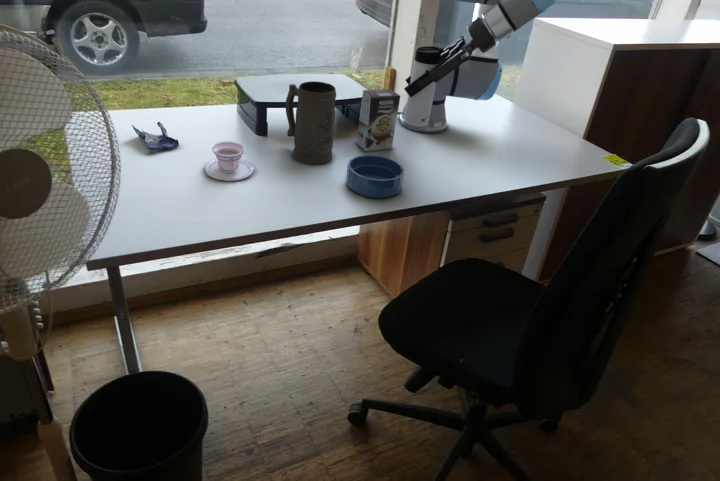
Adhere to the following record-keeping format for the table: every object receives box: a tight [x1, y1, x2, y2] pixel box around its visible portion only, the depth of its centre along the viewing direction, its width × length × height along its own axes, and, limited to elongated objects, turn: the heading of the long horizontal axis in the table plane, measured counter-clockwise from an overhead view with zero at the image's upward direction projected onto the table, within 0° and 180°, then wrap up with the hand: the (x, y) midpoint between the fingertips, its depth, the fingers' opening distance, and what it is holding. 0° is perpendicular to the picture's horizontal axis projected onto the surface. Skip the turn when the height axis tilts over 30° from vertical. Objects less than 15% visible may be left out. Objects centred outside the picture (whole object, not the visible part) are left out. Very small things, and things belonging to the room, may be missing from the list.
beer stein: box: [285, 80, 337, 165], centre depth 151 cm, size 15×11×20 cm
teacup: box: [204, 140, 254, 182], centre depth 141 cm, size 12×12×6 cm
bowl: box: [345, 154, 405, 199], centre depth 143 cm, size 14×14×6 cm
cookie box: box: [355, 88, 401, 152], centre depth 162 cm, size 9×6×16 cm
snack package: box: [131, 121, 180, 154], centre depth 149 cm, size 12×6×12 cm
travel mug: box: [404, 45, 445, 131], centre depth 140 cm, size 6×7×20 cm
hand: (408, 88), depth 140 cm, fingers closed on travel mug, 6 cm apart
